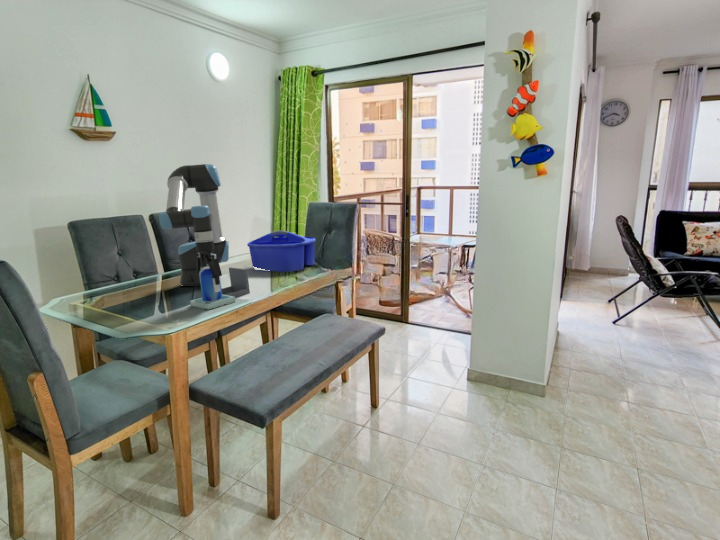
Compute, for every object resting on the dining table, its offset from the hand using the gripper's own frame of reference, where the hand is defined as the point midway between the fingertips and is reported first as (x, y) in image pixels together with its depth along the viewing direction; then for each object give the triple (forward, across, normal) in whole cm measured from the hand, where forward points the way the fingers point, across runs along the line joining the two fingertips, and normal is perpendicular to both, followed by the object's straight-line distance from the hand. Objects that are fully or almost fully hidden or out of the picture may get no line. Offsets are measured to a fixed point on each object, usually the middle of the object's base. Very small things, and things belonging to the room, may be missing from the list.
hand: (211, 290), depth 195 cm
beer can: (+5, 0, 0) cm, 5 cm away
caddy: (+7, -36, +75) cm, 83 cm away
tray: (+6, 0, 0) cm, 6 cm away
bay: (+6, -7, +15) cm, 18 cm away
